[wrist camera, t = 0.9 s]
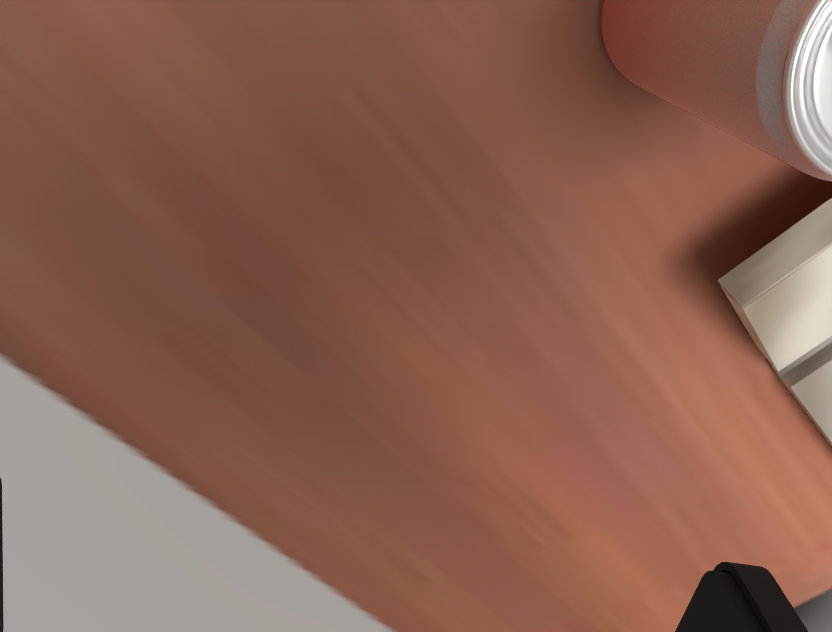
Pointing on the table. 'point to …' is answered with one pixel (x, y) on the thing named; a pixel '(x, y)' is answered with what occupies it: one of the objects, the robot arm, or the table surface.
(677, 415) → the table surface
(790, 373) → the floorboard
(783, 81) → the beverage can
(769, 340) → the plank
